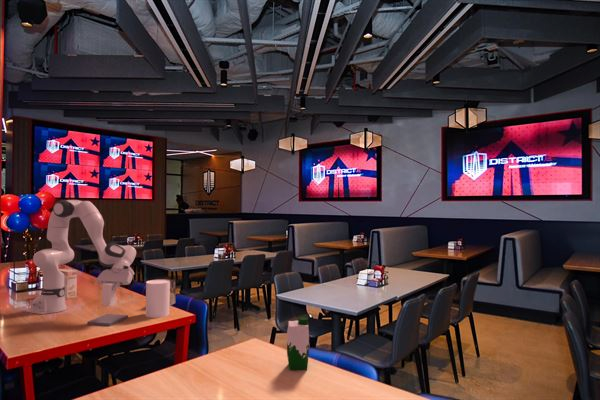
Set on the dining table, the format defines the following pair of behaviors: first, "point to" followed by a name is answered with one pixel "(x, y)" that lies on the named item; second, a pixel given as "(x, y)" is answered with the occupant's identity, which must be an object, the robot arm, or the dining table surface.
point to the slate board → (107, 319)
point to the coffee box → (172, 292)
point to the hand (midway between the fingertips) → (108, 289)
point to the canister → (157, 298)
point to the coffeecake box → (70, 283)
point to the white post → (108, 294)
